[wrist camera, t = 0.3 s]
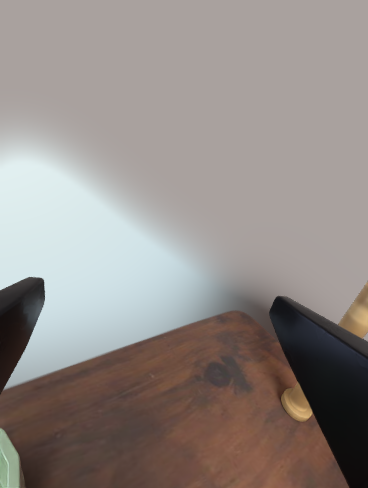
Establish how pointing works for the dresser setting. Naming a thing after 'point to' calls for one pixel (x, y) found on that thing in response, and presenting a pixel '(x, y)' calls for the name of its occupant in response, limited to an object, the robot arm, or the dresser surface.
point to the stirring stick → (355, 321)
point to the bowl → (10, 464)
